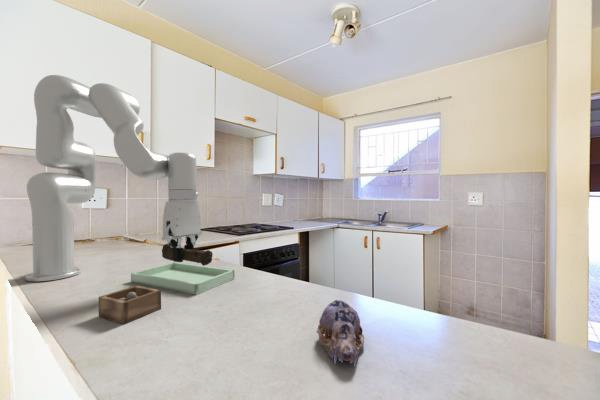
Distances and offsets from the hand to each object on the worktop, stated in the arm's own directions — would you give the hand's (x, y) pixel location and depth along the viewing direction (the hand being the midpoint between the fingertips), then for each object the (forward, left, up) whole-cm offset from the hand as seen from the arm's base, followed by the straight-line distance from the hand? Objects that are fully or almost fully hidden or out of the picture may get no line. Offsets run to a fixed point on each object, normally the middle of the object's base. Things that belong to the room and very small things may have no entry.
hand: (183, 259), depth 80 cm
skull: (+51, -16, -6) cm, 54 cm away
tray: (0, 0, -6) cm, 6 cm away
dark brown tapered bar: (0, -1, -1) cm, 1 cm away
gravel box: (+8, -21, -6) cm, 23 cm away
